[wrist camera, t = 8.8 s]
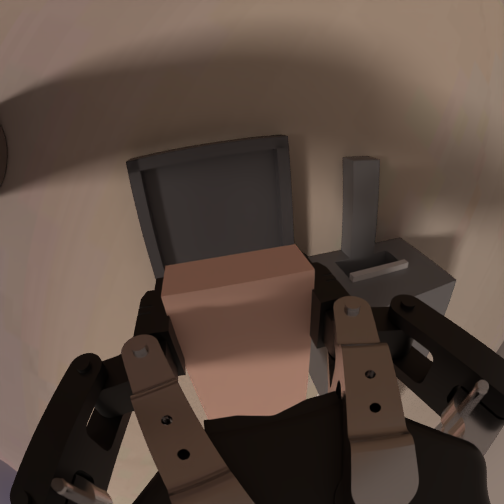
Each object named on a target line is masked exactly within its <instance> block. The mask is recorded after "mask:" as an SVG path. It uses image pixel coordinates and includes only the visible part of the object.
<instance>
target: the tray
mask: <svg viewBox="0 0 504 504" xmlns="http://www.w3.org/2000/svg"><path fill="white" fill-rule="evenodd" d="M126 165H127V170H128V174H129V179H130V184H131V189H132V193H133V197H134V202H135V206H136V210H137V214H138V218H139V222H140V226H141V230H142V233H143V237H144V241H145V244H146V248H147V252H148V255H149V258H150V262H151V265H152V268H153V272H154V275H155V278H156V279H157V278H161V277H164V272H165V266H168V265H174V264H179V263H185V262H191V261H197V260H203V259H209V258H215V257H221V256H227V255H233V254H239V253H245V252H251V251H257V250H263V249H269V248H275V247H281V246H287V245H293V244H294V232H293V209H292V190H291V173H290V158H289V145H288V136H286V135H271V136H260V137H251V138H242V139H234V140H227V141H220V142H213V143H206V144H200V145H194V146H189V147H183V148H178V149H173V150H168V151H163V152H158V153H153V154H149V155H144V156H140V157H136V158H132V159H130V160H128V161H126Z"/></svg>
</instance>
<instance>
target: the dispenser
mask: <svg viewBox="0 0 504 504" xmlns="http://www.w3.org/2000/svg"><path fill="white" fill-rule="evenodd" d="M379 169H380V160H379V159H376V158H373V157H369V156H359V157H343V221H342V245H341V250H339V251H334V252H329V253H324V254H319V255H314V256H309V257H308V258H309V259H310V261H311V262H312V263H314V262H319V263H320V264H322V265H324V266H326V267H327V268H328V269H329V270H330V272H331V273H332V274H333V275H334V276H335V278H336V280H338V281H339V282H340V284H341V285H342V286H343V287H344V288H345V290H346V291H347V292H348V293H349V295H350V296H356V297H360V298H362V299H364V300H366V301H367V302H368V303H369V305H370V307H389V306H390V302H391V300H392V298H393V297H395V296H397V295H401V294H407V295H412V296H414V297H416V298H418V299H419V300H421V301H422V302H424V303H426V304H427V305H429V306H430V307H431V308H433V309H434V310H436V311H437V312H439V313H440V314H442V315H443V316H444V315H445V312H446V309H447V307H448V304H449V301H450V298H451V295H452V292H453V289H454V286H455V283H456V279H455V278H453V277H452V276H451V275H450V274H448V273H447V272H446V271H445V270H443V269H442V268H441V267H439V266H438V265H437V264H436V263H434V262H433V261H432V260H430V259H429V258H428V257H426V256H425V255H424V254H422V253H421V252H420V251H418V250H417V249H416V248H414V247H413V246H411V245H410V244H409V243H407V242H406V241H404V240H403V239H402V238H397V239H392V240H388V241H383V242H378V243H375V236H376V225H377V212H378V196H379ZM412 346H413V347H414V348H415V349H417V350H418V351H419V352H420V353H422V354H423V355H424V356H425V357H427V355H428V353H429V351H428V350H427V349H426V348H424V347H423V346H422V345H421V344H419V343H418V342H417V341H415V340H413V343H412ZM327 353H328V350H327V348H326V347H322V348H318V349H317V348H316V346H315V345H314V343H313V341H312V339H311V349H310V361H309V374H310V376H311V378H312V380H313V382H314V385H315V387H316V389H317V391H318V394H319V396H320V395H323V394H326V393H328V373H327Z"/></svg>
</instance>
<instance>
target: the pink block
mask: <svg viewBox="0 0 504 504" xmlns="http://www.w3.org/2000/svg"><path fill="white" fill-rule="evenodd" d="M314 280H315V269H314V268H313V266H312V265H311V264H310V262H309V261H308V260H307V259H306V257H305V256H304V255H303V253H302V252H301V251H300V250H299V248H298V247H297V246H296V244H293V245H287V246H281V247H275V248H269V249H263V250H257V251H251V252H245V253H239V254H233V255H227V256H221V257H215V258H209V259H203V260H197V261H191V262H185V263H179V264H174V265H168V266H165V272H164V279H163V285H162V292H161V298H162V301H163V305H164V308H165V311H166V314H167V316H170V319H171V322H172V325H173V328H174V330H175V333H176V336H177V339H178V342H179V345H180V347H181V350H182V353H183V355H184V358H185V366H186V368H187V371H188V373H189V376H190V378H191V381H192V383H193V386H194V388H195V390H196V393H197V395H198V397H199V400H200V402H201V404H202V406H203V409H204V411H205V413H206V415H207V417H208V420H210V419H217V418H223V417H230V416H235V415H245V416H272V415H276V414H278V413H280V412H282V411H284V410H286V409H288V408H290V407H292V406H294V405H296V404H298V403H300V402H301V401H303V400H306V392H307V383H308V372H309V361H310V349H311V337H310V322H311V302H312V289H314Z"/></svg>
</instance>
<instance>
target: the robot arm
mask: <svg viewBox="0 0 504 504" xmlns="http://www.w3.org/2000/svg"><path fill="white" fill-rule="evenodd" d="M6 163H7V146H6V140H5V136H4V133H3V130H2V128H1V126H0V186H1V184H2V181H3V178H4V175H5V170H6ZM303 255H304V256H305V257H306V259H307V260H308V261H309V262H310V264H311V265H312V266H313V268H314V269H315V280H314V289H312V302H311V322H310V337H311V339H312V341H313V343H314V345H315V346H316V348H317V349H318V348H322V347H326V348H327V350H328V353H327V373H328V393H326V394H323V395H320V396H316V397H313V398H309V399H306V400H303V401H301V402H300V403H298V404H296V405H294V406H292V407H290V408H288V409H286V410H284V411H282V412H280V413H278V414H276V415H272V416H245V415H235V416H230V417H223V418H217V419H210V420H204V428H205V429H203V427H202V425H201V424H200V422H199V420H198V418H197V417H196V415H195V413H194V411H193V410H192V408H191V406H190V404H189V402H188V400H187V399H186V397H185V395H184V393H183V391H182V389H181V387H180V385H179V383H178V376H180V375H186V373H185V358H184V355H183V353H182V350H181V347H180V345H179V342H178V339H177V336H176V333H175V330H174V328H173V325H172V322H171V319H170V316H167V314H166V311H165V308H164V305H163V301H162V298H161V292H162V285H163V279H164V277H161V278H157V279H156V285H155V290H152V291H147V292H146V293H145V295H144V296H143V297H142V299H141V302H140V306H139V308H140V309H139V311H138V316H137V321H136V326H135V331H134V336H133V337H132V338H131V339H129V340H128V341H127V342H126V343H125V344H124V345H123V347H122V350H121V354H120V355H118V356H116V357H113V358H110V359H107V360H105V361H102V360H101V359H100V357H99V356H98V355H96V354H93V353H86V354H83V355H80V356H78V357H77V358H76V359H74V360H73V361H72V363H71V364H70V366H69V368H68V369H67V371H66V373H65V375H64V376H63V378H62V380H61V382H60V383H59V385H58V387H57V389H56V391H55V393H54V394H53V396H52V398H51V400H50V402H49V404H48V406H47V408H46V410H45V412H44V414H43V416H42V418H41V420H40V422H39V424H38V426H37V428H36V430H35V432H34V434H33V437H32V439H31V441H30V443H29V446H28V448H27V450H26V452H25V455H24V457H23V460H22V462H21V464H20V467H19V470H18V472H17V475H16V477H15V480H14V483H13V486H12V488H11V492H10V501H11V504H113V502H112V499H111V497H110V495H109V494H108V493H107V488H108V485H109V482H110V478H111V475H112V471H113V468H114V465H115V462H116V458H117V455H118V452H119V449H120V446H121V443H122V440H123V437H124V434H125V431H126V428H127V425H128V422H129V419H130V416H131V413H132V411H135V414H136V417H137V420H138V422H139V425H140V428H141V430H142V433H143V436H144V438H145V441H146V443H147V446H148V448H149V451H150V453H151V455H152V458H153V460H154V462H155V464H156V467H157V469H158V472H157V473H156V474H155V476H154V477H153V478H152V479H151V481H150V482H149V483H148V485H147V486H146V487H145V488H144V490H143V491H142V492H141V493H140V495H139V496H138V497H137V498H136V500H135V501H134V502H133V503H132V504H490V501H489V496H488V490H487V470H486V462H485V459H484V457H483V456H484V454H485V453H486V452H487V450H488V449H489V447H490V446H491V444H492V443H493V441H494V440H495V438H496V437H497V435H498V434H499V432H500V430H501V429H502V427H503V425H504V359H503V358H502V357H500V356H499V355H498V354H496V353H495V352H494V351H493V350H491V349H490V348H488V347H487V346H486V345H484V344H483V343H482V342H480V341H479V340H478V339H476V338H475V337H473V336H472V335H471V334H469V333H468V332H466V331H465V330H464V329H462V328H461V327H459V326H458V325H456V324H455V323H453V322H452V321H451V320H449V319H448V318H446V317H445V316H443V315H442V314H440V313H439V312H437V311H436V310H434V309H433V308H431V307H430V306H429V305H427V304H426V303H424V302H422V301H421V300H419V299H418V298H416V297H414V296H412V295H407V294H401V295H397V296H395V297H393V298H392V300H391V302H390V306H389V307H370V305H369V303H368V302H367V301H366V300H364V299H362V298H360V297H356V296H350V295H349V293H348V292H347V291H346V290H345V288H344V287H343V286H342V285H341V284H340V282H339V281H338V280H336V278H335V276H334V275H333V274H332V273H331V272H330V270H329V269H328V268H327V267H326V266H324V265H322V264H320V263H319V262H314V263H312V262H311V261H310V259H309V258H308V257H307V256H306V254H305V253H303ZM413 340H415V341H417V342H418V343H419V344H421V345H422V346H423V347H424V348H426V349H427V350H428V351H429V352H430V353H431V354H432V356H433V362H432V361H430V360H429V359H428V358H427V357H425V356H424V355H423V354H422V353H420V352H419V351H418V350H417V349H415V348H414V347H413V346H412V343H413ZM396 377H397V378H398V379H399V380H400V381H402V382H403V383H404V384H405V385H406V386H407V387H408V388H409V389H410V390H412V391H413V392H414V393H415V394H416V395H417V396H418V397H419V398H420V399H422V400H423V401H424V402H425V403H426V404H427V405H428V406H429V407H430V408H431V409H433V410H434V411H435V412H436V413H437V414H438V415H439V416H440V417H441V422H442V427H441V431H442V432H441V431H439V430H436V429H433V428H431V427H428V426H425V425H423V424H420V423H418V422H415V421H413V420H410V419H408V418H405V417H404V412H403V406H402V401H401V396H400V392H399V387H398V382H397V378H396ZM94 407H95V408H94ZM93 408H94V410H93ZM92 411H93V413H92ZM91 413H92V415H91ZM90 415H91V418H90ZM89 418H90V420H89ZM88 420H89V422H88ZM87 422H88V425H87ZM86 426H87V427H86Z"/></svg>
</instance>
